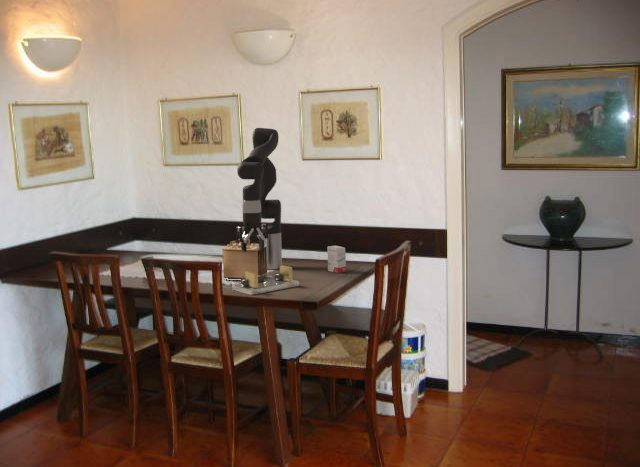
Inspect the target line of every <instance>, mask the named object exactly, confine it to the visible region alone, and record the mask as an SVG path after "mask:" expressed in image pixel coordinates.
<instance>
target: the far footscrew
mask: <svg viewBox="0 0 640 467" xmlns="http://www.w3.org/2000/svg"><path fill="white" fill-rule="evenodd" d="M274 277H275V280H284V281H289V282H290V281H292V280H293V267H292V266H287V265H284V264H282V266H280V268H279V272H275V273H274Z"/></svg>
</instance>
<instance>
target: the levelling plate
mask: <svg viewBox="0 0 640 467" xmlns="http://www.w3.org/2000/svg"><path fill="white" fill-rule="evenodd" d="M299 286H300V281H299V280H295V279H292V281H290V282H289V281H284V280H275V276H273V278H268V279H266V278H265V279H264V276H261V275H258V288H253V287H249V286H247V287H245V286H241V282H240V283H236V284H232V285H231V290H232V291H236V292H240V293H242V294H246V295H250V296H253V295H260V294H264V293H270V292H274V291H279V290H284V289H289V288H295V287H299Z"/></svg>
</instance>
